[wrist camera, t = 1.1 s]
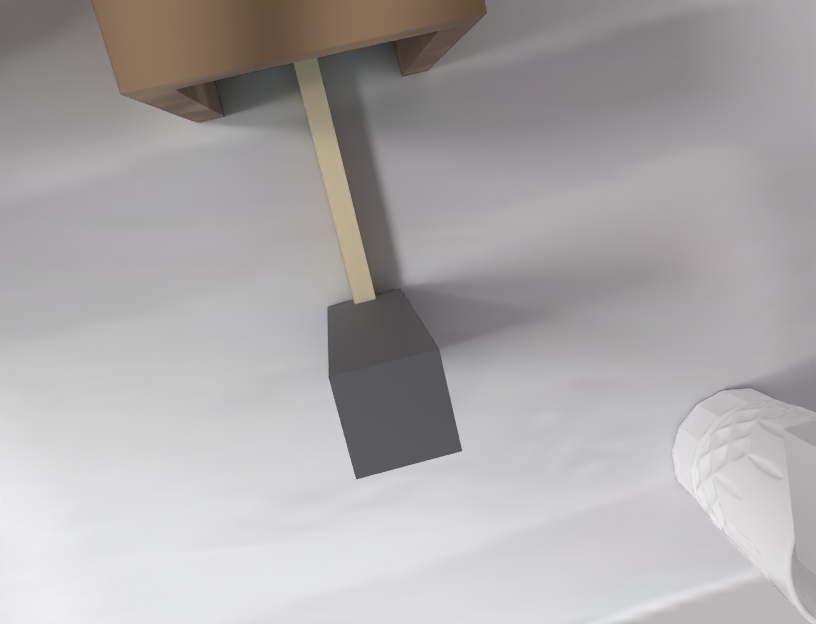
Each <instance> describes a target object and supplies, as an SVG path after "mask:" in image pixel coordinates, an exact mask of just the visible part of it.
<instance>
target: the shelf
mask: <svg viewBox="0 0 816 624" xmlns="http://www.w3.org/2000/svg"><path fill="white" fill-rule="evenodd" d="M91 1H92V4H93V7H94V10H95V13H96V16H97V20H98V23H99V26H100V29H101V32H102V36H103V39H104V42H105V45H106V48H107V52H108V55H109V58H110V61H111V64H112V68H113V71H114V74H115V77H116V80H117V84H118V87H119V90H120V93H121V94H122V95H124V96H127V97H130V98H132V99H135V100H138V101H140V102H143V103H146V104H148V105H151V106H154V107H156V108H159V109H162V110H165V111H167V112H170V113H173V114H175V115H178V116H181V117H183V118H186V119H189V120H191V121H194V122H197V123H198V122H202V121H207V120H211V119H216V118H220V117H224V114H223V110H222V107H221V103H220V99H219V96H218V92H217V89H216V85H215V82H214V81H215V80H220V79H224V78H228V77H233V76H237V75H242V74H246V73H251V72H255V71H260V70H264V69H269V68H273V67H278V66H282V65H287V64H291V63H296V62H300V61H305V60H309V59H314V58H318V57H323V56H327V55H332V54H336V53H341V52H345V51H350V50H354V49H359V48H363V47H368V46H372V45H377V44H381V43H386V42H390V41H394V43H395V48H396V52H397V57H398V62H399V66H400V71H401V75H402V76H405V75H410V74H414V73H419V72H423V71H427V70H429V69H430V68H431V67H432V66H433V65H434V64H435V63H436V62H437V61H438V60H439V59H440V58H441V57H442V56H443V55H444V54H445V53H446V52H447V51H448V50H449V49H450V48H451V47H452V46H453V45H454V44H455V43H456V42H457V41H458V40H459V39H460V38H461V37H462V36H464V35H465V34H466V33H467V32H468V31H469V30H470V29H471V28H472V27H473V26H474V25H475V24H476V23H477V22H478V21H479V20H480V19H481V18H482V17H483V16H484V15H485V14H486V13H487V12H486V7H485V2H484V0H91Z"/></svg>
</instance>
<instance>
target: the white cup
mask: <svg viewBox="0 0 816 624" xmlns="http://www.w3.org/2000/svg"><path fill="white" fill-rule="evenodd" d="M813 420H816V412H814V411H811V410H808V409H805V408H803V407H801V406H799V405H791V404H788V403H785V402H782V401H779V400H777V399H775V398H772V397H770V396H768V395H765V394H763V393H761V392H758V391H756V390H754V389H751V388H745V389H732V390H722V391H720V392H718V393H716V394H715V395H713V396H711V397H709V398H707V399H706V400H704V401H702V402H700V403H698V404H697V405H696V406H695V407H694V409H693V410H692V411H691V412H690V414H689V415H688V416H687V417H686V419H685V420H684V421H683V422H682V424H681V425H680V426H679V428H678V432H677V436H676V439H675V443H674V446H673V450H672V458H673V464H674V469H675V475H676V479H677V481H678V482H679V483H680V484H681V485H682V487H683V488H684V489H685V490H686V491H687V493H688V494H689V495H690V496H691V497H692V499H693V500H694V501H695V502H696V503H697V504H698V505H699V506H700V507H701V508H702V509H703V510H704V511H705V512H706V514H707V516H708V518H709V519H710V520H711V521H712V522H713V523H714V524H715V525H716V526H717V527H718V528H719V529H720V530H721V532H722V533H723V534H724V535H725V536H726V537H727V538H728V539H729V541H730V542H731V543H732V544H733V545H734V546H735V547H736V548H737V549H738V550H739V551H740V552H741V553H742V554H743V555H744V556H745V557H746V558H747V559H748V560H749V561H750V562H751V563H752V564H753V565H754V566H755V567H756V568H757V569H758V570H759V571H760V572H761V573H762V574H763V575H764V576H765V577H766V578H767V579H768V580H769V581H770V582H771V583H772V584H773V586H775V587H776V589H777V590H779V591H780V593H781V594H783V596H784V597H785V598H786V599H787V600H788V601H789V602H790V603H791V604H792V605H793V606H794V607H795V608H796V609H797V610H798V611H799V612H800V613H801V614H802V615H803V616H804V617H805V618H806V619H807V620H808V621H809V622H810V623H811V624H816V575H815V574H814V573H813V572H812V571H810V570H809V569H808V568H807V567H806V566H804V565H803V564H802V563H801V562H800V561H798V560H797V553H796V544H795V535H794V526H793V517H792V508H791V499H790V490H789V480H788V471H787V462H786V453H785V444H784V435H783V429H785V428H788V427H792V426H795V425H799V424H803V423H806V422H810V421H813Z"/></svg>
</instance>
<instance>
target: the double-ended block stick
mask: <svg viewBox="0 0 816 624" xmlns="http://www.w3.org/2000/svg"><path fill="white" fill-rule="evenodd" d="M294 67H295V71H296V75H297V79H298V83H299V87H300V91H301V95H302V99H303V103H304V107H305V110H306V114H307V118H308V122H309V126H310V130H311V134H312V138H313V142H314V146H315V150H316V154H317V158H318V162H319V166H320V170H321V174H322V178H323V182H324V186H325V189H326V193H327V197H328V201H329V205H330V209H331V213H332V217H333V221H334V225H335V229H336V233H337V237H338V241H339V245H340V249H341V253H342V257H343V261H344V264H345V268H346V272H347V276H348V280H349V284H350V288H351V292H352V296H353V300H352V301H348V302H344V303H340V304H336V305H332V306H328V360H329V380H330V384H331V387H332V391H333V395H334V399H335V402H336V406H337V410H338V413H339V417H340V421H341V425H342V428H343V432H344V436H345V439H346V443H347V447H348V451H349V454H350V458H351V462H352V465H353V469H354V473H355V477H356V479H359V478H363V477H367V476H370V475H374V474H378V473H382V472H385V471H389V470H393V469H397V468H400V467H404V466H408V465H411V464H415V463H419V462H423V461H426V460H430V459H434V458H438V457H441V456H445V455H449V454H453V453H456V452H460V451H462V449H461V444H460V440H459V435H458V431H457V427H456V422H455V418H454V413H453V409H452V404H451V400H450V396H449V391H448V387H447V382H446V378H445V374H444V369H443V365H442V360H441V356H440V352H439V348H438V347H437V345H436V344H435V342H434V341H433V339H432V337H431V336H430V334H429V333H428V331H427V330H426V328H425V327H424V325H423V323H422V322H421V320H420V319H419V317H418V316H417V314H416V312H415V311H414V309H413V308H412V306H411V305H410V303H409V301H408V300H407V298H406V297H405V295H404V294H403V292H402V290H401V289H396V290H392V291H388V292H384V293H380V294H376V295H375V293H374V289H373V285H372V280H371V276H370V272H369V268H368V264H367V260H366V256H365V252H364V248H363V244H362V240H361V236H360V232H359V227H358V223H357V219H356V215H355V211H354V207H353V203H352V199H351V195H350V191H349V187H348V183H347V178H346V174H345V170H344V166H343V162H342V158H341V154H340V150H339V146H338V142H337V138H336V134H335V130H334V125H333V121H332V117H331V113H330V109H329V105H328V101H327V97H326V93H325V89H324V85H323V81H322V76H321V72H320V68H319V64H318V60H317V58H314V59H309V60H305V61H300V62H296V63H294Z"/></svg>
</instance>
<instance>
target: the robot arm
mask: <svg viewBox="0 0 816 624" xmlns="http://www.w3.org/2000/svg"><path fill="white" fill-rule="evenodd" d="M783 435H784V444H785V453H786V462H787V471H788V480H789V490H790V499H791V508H792V517H793V526H794V535H795V544H796V553H797V560H798V561H800V562H801V563H802V564H803V565H804V566H806V567H807V568H808V569H809V570H810V571H812V572H813V573H814V574H815V575H816V420H813V421H810V422H806V423H803V424H799V425H795V426H792V427H788V428H785V429H783Z"/></svg>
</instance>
